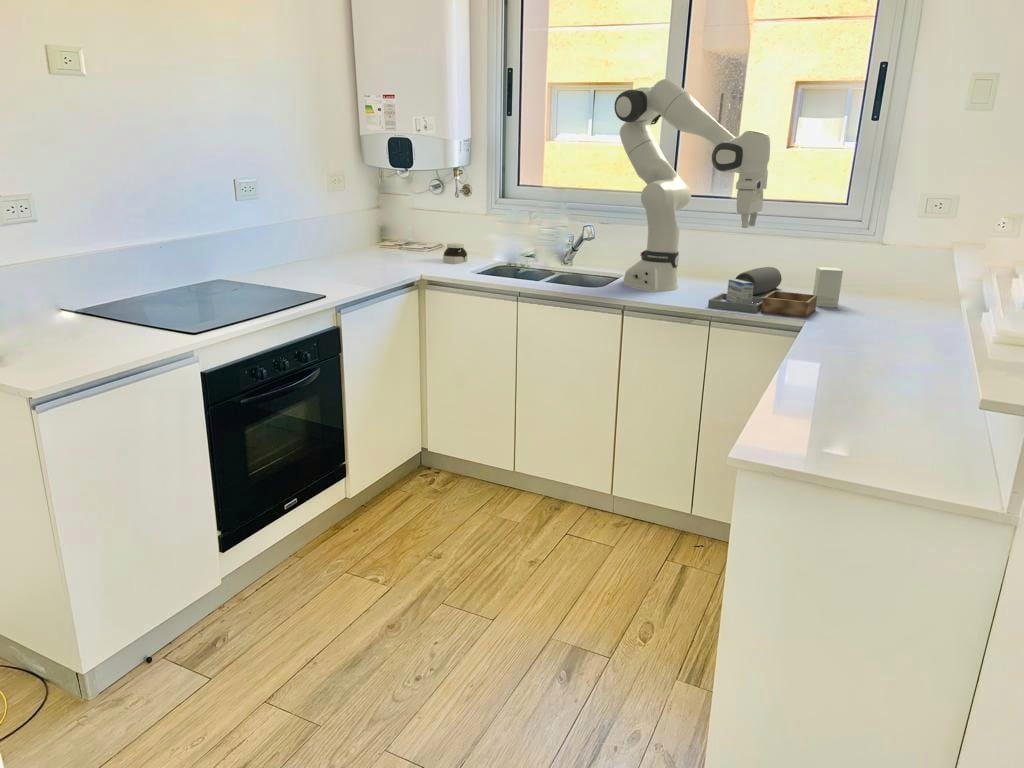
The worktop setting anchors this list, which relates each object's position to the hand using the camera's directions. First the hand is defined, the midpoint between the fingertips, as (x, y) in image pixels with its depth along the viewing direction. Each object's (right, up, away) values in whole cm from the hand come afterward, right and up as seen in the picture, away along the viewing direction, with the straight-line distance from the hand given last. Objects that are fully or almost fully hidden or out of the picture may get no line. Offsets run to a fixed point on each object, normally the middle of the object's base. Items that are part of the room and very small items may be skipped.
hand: (748, 227), depth 246 cm
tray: (-1, -25, +7) cm, 26 cm away
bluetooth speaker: (+12, -19, +28) cm, 36 cm away
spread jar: (-102, -5, +67) cm, 122 cm away
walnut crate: (+13, -28, +1) cm, 31 cm away
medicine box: (-1, -26, +7) cm, 27 cm away
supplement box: (+30, -24, +13) cm, 41 cm away
